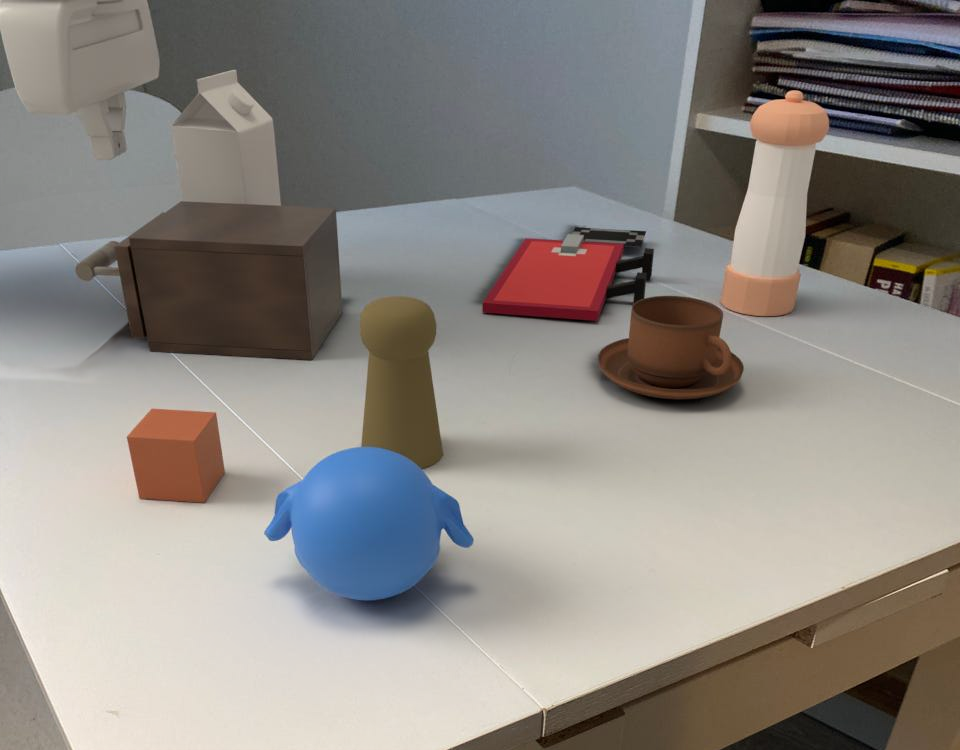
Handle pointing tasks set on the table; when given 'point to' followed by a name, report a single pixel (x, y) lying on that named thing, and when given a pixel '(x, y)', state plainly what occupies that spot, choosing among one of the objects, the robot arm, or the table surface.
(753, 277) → the pepper shaker
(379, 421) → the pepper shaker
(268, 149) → the milk carton
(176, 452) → the block
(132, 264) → the drawer
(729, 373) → the cup and saucer
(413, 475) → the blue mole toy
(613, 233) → the red board with handle
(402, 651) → the table surface
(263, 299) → the cabinet
